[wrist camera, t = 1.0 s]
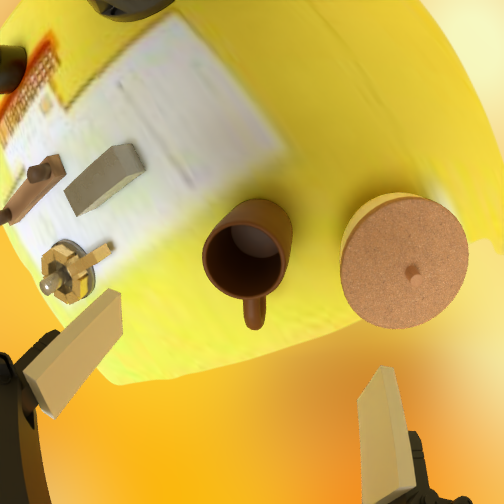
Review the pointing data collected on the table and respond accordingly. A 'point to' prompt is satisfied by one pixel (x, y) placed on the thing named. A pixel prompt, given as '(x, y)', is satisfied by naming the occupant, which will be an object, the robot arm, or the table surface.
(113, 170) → the bar
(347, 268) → the lidded bowl
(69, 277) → the nut station
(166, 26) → the table surface
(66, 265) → the golden ring with handle
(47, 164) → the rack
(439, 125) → the table surface
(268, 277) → the mug
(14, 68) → the ink bottle
